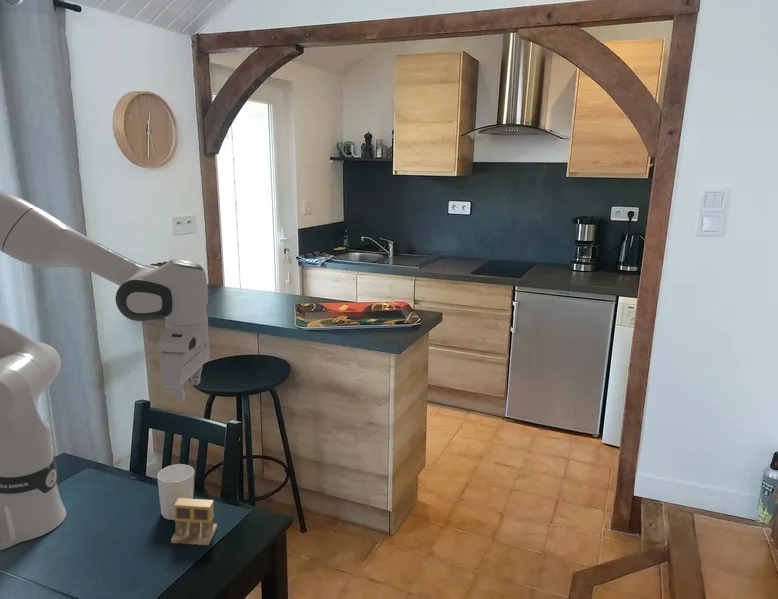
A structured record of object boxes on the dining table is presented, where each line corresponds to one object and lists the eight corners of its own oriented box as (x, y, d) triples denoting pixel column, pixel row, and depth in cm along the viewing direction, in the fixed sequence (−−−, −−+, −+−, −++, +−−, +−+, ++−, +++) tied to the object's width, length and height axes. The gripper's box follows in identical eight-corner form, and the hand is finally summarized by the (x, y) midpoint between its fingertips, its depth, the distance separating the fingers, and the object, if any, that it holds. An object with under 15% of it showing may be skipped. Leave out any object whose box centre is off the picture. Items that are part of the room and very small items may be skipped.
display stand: (171, 543, 117) (170, 526, 116) (181, 525, 123) (181, 509, 122) (208, 545, 117) (208, 528, 116) (217, 527, 123) (217, 511, 122)
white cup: (182, 524, 123) (181, 484, 121) (151, 518, 125) (149, 479, 122) (201, 504, 131) (200, 467, 129) (171, 499, 132) (170, 461, 130)
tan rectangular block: (174, 521, 118) (174, 505, 117) (179, 514, 120) (178, 497, 119) (209, 523, 118) (209, 507, 117) (213, 516, 120) (213, 500, 119)
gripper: (190, 320, 131) (190, 374, 134) (153, 345, 111) (155, 409, 114) (216, 321, 131) (216, 376, 134) (184, 348, 111) (185, 411, 114)
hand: (188, 391), depth 124 cm, fingers open, 8 cm apart
